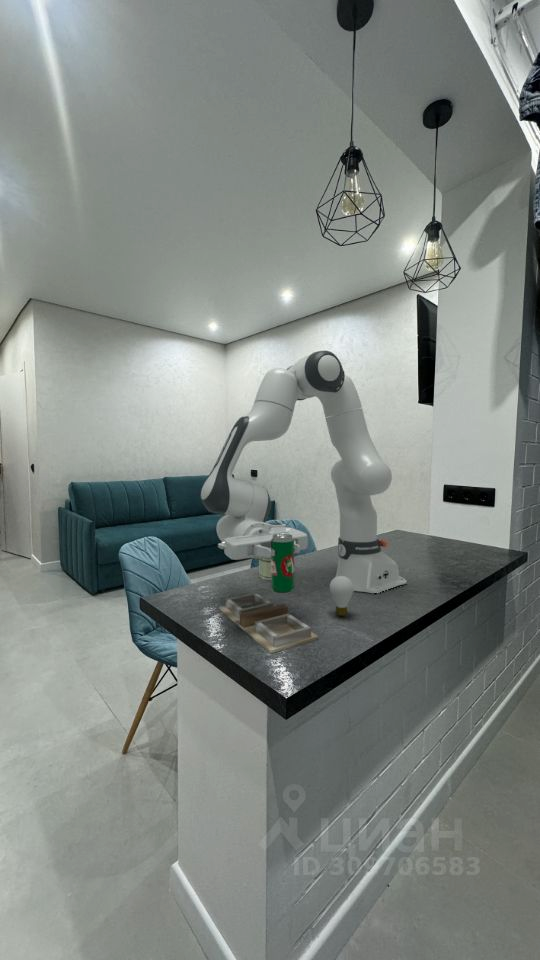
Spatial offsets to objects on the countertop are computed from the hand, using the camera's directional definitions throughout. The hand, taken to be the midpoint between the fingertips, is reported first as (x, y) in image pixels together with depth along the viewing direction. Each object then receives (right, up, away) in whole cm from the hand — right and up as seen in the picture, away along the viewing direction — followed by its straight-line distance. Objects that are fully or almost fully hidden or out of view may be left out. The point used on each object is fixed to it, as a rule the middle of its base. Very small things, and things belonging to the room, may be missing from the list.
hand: (284, 551), depth 84 cm
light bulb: (+14, -19, +13) cm, 27 cm away
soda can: (0, -9, +1) cm, 9 cm away
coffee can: (-2, -16, +45) cm, 48 cm away
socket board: (-5, -19, +9) cm, 21 cm away
